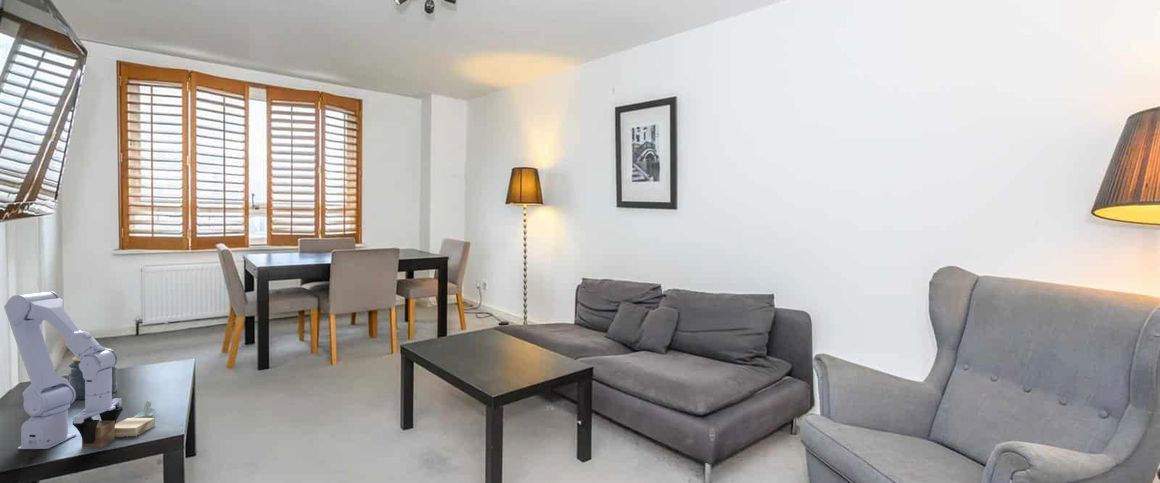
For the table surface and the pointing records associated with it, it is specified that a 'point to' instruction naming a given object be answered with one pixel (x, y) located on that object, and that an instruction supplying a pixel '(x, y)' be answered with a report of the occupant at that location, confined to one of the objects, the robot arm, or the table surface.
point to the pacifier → (146, 411)
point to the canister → (79, 382)
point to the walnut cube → (102, 434)
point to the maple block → (133, 426)
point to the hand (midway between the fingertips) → (98, 438)
